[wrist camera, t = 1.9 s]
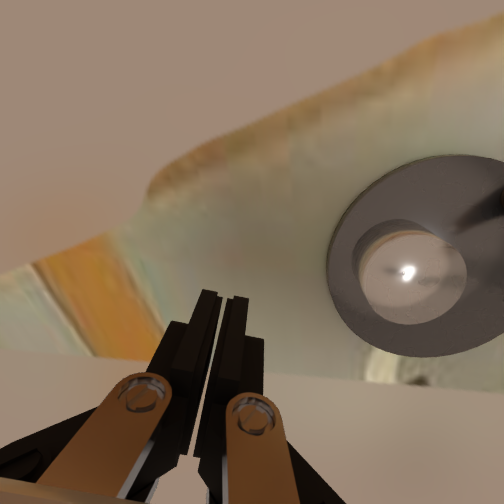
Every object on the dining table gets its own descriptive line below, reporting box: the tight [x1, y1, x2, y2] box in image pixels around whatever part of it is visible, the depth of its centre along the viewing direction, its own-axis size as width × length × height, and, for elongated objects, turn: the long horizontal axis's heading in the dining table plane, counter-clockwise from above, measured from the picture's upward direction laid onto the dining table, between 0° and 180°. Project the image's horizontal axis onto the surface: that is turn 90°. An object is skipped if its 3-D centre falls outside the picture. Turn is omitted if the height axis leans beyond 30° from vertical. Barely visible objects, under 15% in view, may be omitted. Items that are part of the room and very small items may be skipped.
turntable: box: [327, 155, 504, 357], centre depth 22 cm, size 16×16×6 cm
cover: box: [351, 219, 467, 325], centre depth 22 cm, size 6×6×4 cm
